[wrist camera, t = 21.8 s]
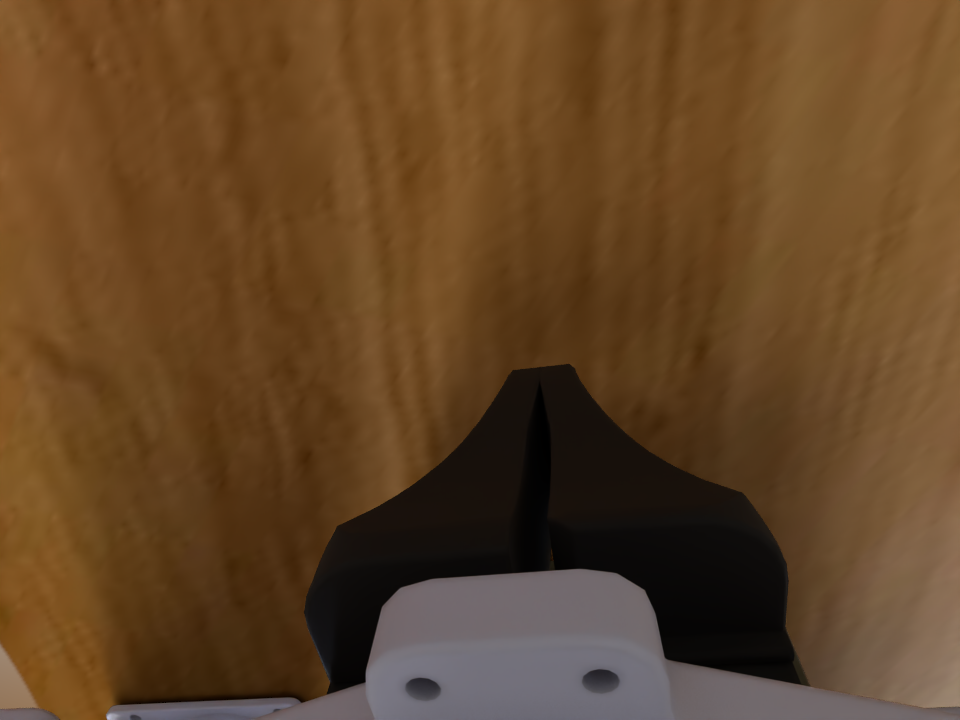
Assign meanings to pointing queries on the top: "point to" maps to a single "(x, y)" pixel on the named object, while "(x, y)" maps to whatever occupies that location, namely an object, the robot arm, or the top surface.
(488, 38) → the top surface
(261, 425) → the top surface
